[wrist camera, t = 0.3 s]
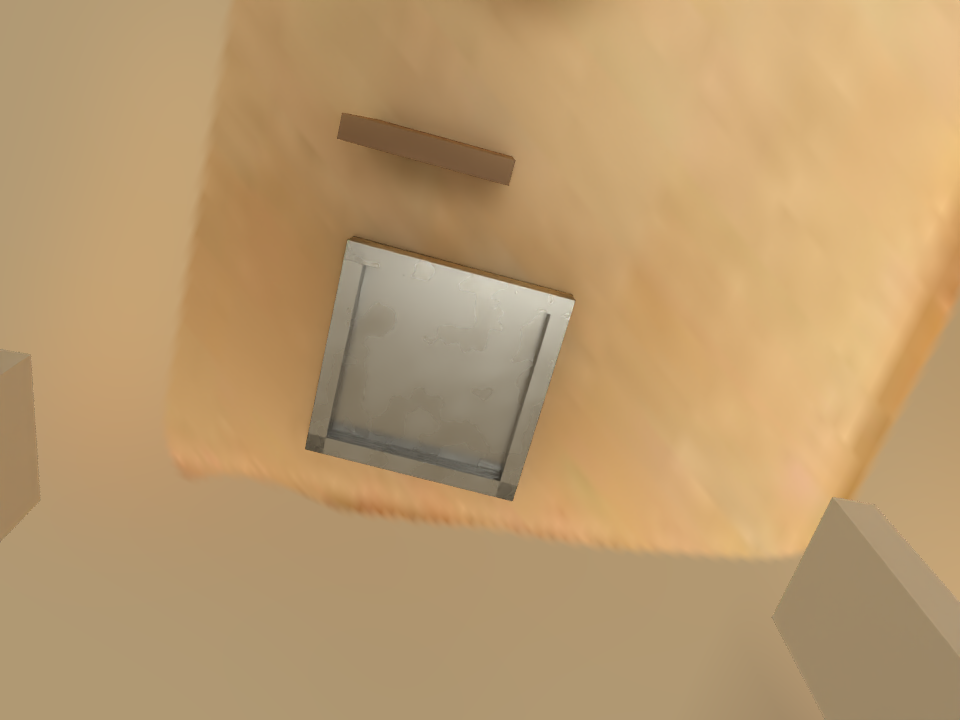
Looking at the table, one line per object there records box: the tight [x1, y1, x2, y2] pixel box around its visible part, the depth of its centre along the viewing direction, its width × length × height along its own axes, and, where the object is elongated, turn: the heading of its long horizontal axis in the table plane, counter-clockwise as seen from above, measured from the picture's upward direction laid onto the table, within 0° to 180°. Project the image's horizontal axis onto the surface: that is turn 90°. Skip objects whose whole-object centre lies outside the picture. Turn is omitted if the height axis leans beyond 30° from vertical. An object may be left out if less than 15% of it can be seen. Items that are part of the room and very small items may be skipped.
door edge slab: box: [337, 113, 515, 186], centre depth 31 cm, size 1×7×8 cm, turn 75°
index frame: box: [305, 236, 575, 501], centre depth 38 cm, size 12×12×2 cm
